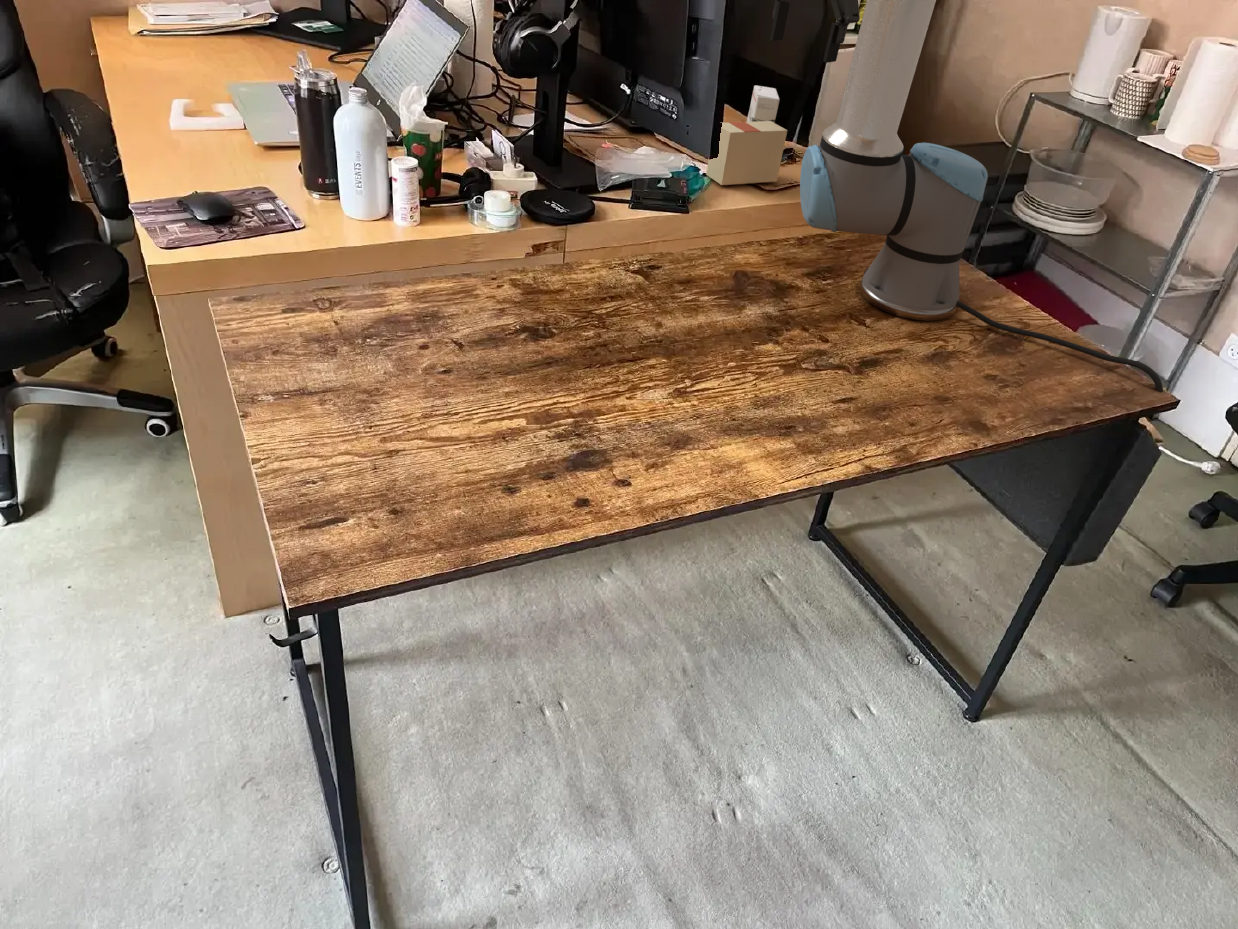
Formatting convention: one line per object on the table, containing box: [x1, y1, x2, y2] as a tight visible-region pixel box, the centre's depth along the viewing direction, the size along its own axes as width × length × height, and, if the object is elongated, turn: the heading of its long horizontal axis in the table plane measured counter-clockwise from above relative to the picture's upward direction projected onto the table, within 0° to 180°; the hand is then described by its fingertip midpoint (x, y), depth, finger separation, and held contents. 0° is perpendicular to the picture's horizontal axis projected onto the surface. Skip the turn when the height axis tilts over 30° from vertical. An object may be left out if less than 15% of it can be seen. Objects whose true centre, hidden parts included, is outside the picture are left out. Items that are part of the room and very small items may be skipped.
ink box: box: [746, 84, 780, 124], centre depth 193 cm, size 8×5×12 cm, turn 179°
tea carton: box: [705, 121, 788, 186], centre depth 176 cm, size 13×6×10 cm, turn 116°
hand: (802, 50), depth 168 cm, fingers open, 13 cm apart
